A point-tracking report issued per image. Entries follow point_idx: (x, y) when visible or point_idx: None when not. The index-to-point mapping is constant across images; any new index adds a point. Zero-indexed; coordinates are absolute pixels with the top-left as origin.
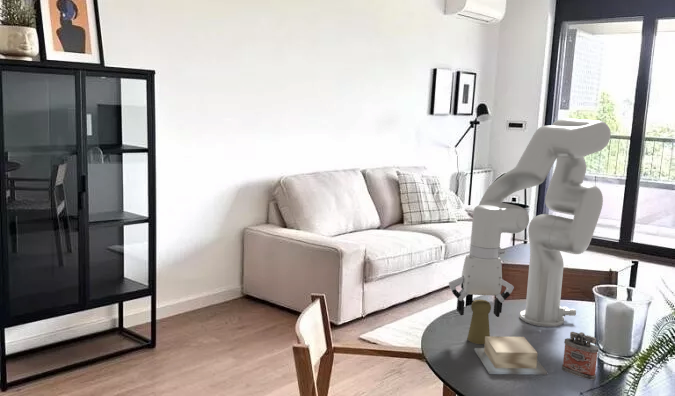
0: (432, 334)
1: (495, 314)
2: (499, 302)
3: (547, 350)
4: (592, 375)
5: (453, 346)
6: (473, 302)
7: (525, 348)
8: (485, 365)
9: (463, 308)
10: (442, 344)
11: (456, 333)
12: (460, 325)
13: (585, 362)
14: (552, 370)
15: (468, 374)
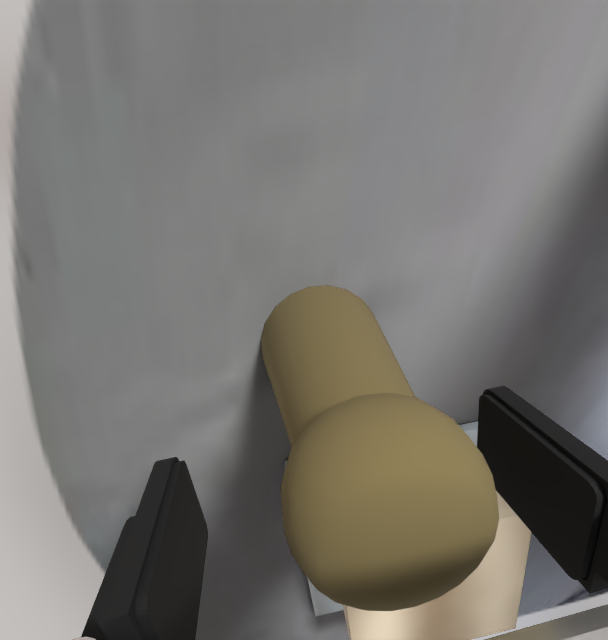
0: (48, 321)
1: (481, 445)
2: (602, 581)
3: (595, 390)
4: None
5: (187, 446)
6: (307, 570)
7: (485, 612)
8: (309, 586)
9: (194, 597)
10: (130, 437)
11: (198, 275)
12: (224, 111)
13: None
14: None
15: (246, 624)
